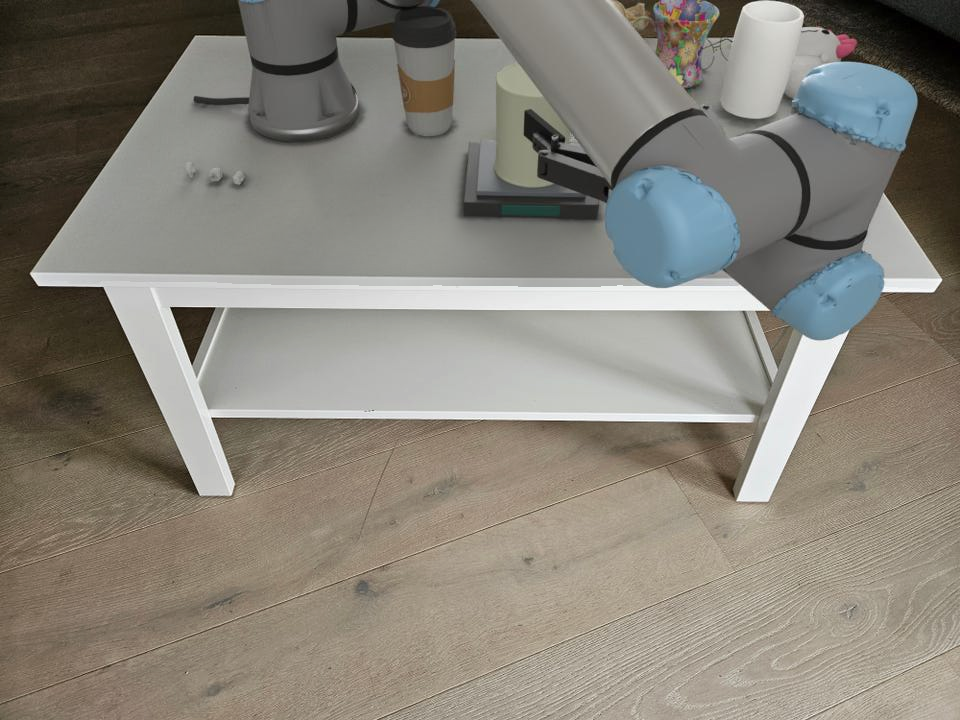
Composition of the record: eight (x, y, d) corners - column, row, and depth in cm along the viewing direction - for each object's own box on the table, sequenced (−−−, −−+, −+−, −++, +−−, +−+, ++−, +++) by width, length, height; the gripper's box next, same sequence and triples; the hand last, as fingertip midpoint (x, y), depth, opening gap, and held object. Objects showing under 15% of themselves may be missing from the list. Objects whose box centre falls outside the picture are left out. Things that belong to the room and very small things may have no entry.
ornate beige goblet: (615, 44, 121) (671, 46, 131) (613, -7, 119) (669, -1, 129) (580, 52, 127) (636, 54, 136) (577, 4, 125) (634, 9, 134)
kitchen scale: (463, 217, 93) (463, 198, 91) (469, 155, 103) (469, 138, 101) (597, 220, 92) (599, 201, 91) (590, 158, 102) (592, 140, 101)
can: (522, 196, 91) (526, 100, 83) (479, 162, 97) (479, 69, 88) (583, 173, 95) (593, 79, 86) (539, 141, 100) (544, 50, 92)
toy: (751, 69, 108) (760, 16, 117) (747, 118, 114) (756, 65, 123) (859, 67, 104) (860, 13, 112) (849, 119, 110) (851, 63, 118)
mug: (701, 68, 121) (716, -2, 114) (707, 96, 115) (722, 23, 107) (624, 65, 122) (633, -5, 115) (625, 92, 116) (635, 19, 108)
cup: (784, 127, 108) (815, 24, 98) (724, 128, 108) (749, 24, 97) (768, 99, 114) (795, -2, 104) (710, 99, 114) (732, -1, 103)
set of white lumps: (180, 164, 97) (188, 157, 99) (184, 179, 99) (191, 172, 100) (238, 172, 96) (245, 165, 98) (241, 187, 98) (248, 180, 99)
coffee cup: (392, 118, 111) (382, 10, 100) (448, 108, 113) (443, 1, 102) (410, 145, 105) (401, 34, 94) (467, 134, 107) (465, 24, 96)
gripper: (593, 284, 66) (478, 168, 80) (810, 206, 74) (672, 113, 88) (602, 209, 61) (477, 99, 74) (835, 134, 69) (684, 47, 82)
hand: (583, 106), depth 81 cm, fingers open, 13 cm apart
